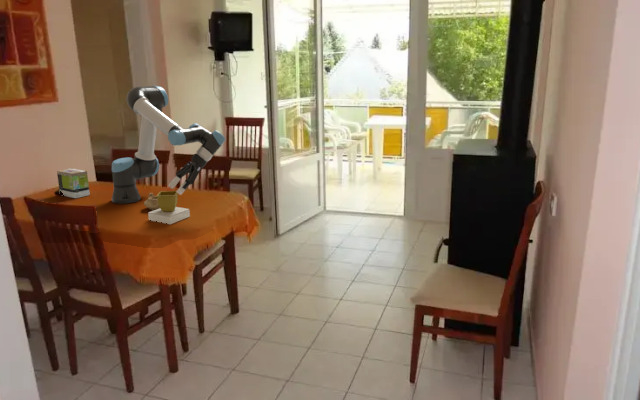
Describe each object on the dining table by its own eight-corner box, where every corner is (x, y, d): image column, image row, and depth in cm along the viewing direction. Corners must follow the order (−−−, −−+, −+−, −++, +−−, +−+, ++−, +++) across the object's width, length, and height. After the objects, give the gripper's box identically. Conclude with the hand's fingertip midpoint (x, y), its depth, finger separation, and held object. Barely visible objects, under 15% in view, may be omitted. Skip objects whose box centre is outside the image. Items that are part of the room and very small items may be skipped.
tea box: (90, 195, 295) (87, 170, 291) (74, 199, 287) (71, 173, 283) (75, 191, 303) (72, 167, 299) (59, 195, 294) (55, 170, 290)
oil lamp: (158, 214, 260) (157, 199, 258) (139, 209, 268) (138, 195, 265) (174, 209, 268) (173, 194, 266) (156, 204, 276) (155, 190, 274)
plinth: (148, 220, 250) (148, 212, 249) (168, 212, 262) (168, 205, 261) (170, 224, 244) (169, 216, 243) (189, 216, 256) (189, 209, 255)
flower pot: (161, 208, 256) (160, 191, 253) (179, 207, 257) (177, 190, 254) (158, 213, 247) (156, 195, 245) (176, 212, 248) (174, 195, 246)
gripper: (216, 166, 246) (188, 200, 242) (198, 158, 266) (172, 189, 262) (204, 157, 241) (176, 191, 238) (187, 149, 262) (161, 180, 258)
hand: (174, 190), depth 250 cm, fingers open, 13 cm apart
